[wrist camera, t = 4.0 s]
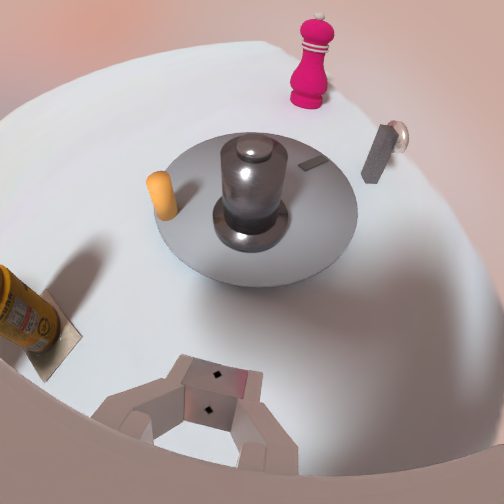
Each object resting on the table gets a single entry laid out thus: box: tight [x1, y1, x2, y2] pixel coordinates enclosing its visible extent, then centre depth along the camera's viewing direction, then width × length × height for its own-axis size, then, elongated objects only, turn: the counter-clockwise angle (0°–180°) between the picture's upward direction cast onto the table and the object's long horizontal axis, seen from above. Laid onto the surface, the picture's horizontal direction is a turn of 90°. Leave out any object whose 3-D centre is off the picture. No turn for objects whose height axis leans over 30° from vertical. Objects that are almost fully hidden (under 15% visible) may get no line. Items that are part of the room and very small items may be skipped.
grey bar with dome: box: [361, 121, 409, 184], centre depth 32 cm, size 4×3×10 cm
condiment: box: [0, 265, 81, 383], centre depth 17 cm, size 7×8×12 cm
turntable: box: [146, 132, 358, 288], centre depth 29 cm, size 24×24×6 cm
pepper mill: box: [290, 13, 334, 109], centre depth 40 cm, size 7×7×20 cm
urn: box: [212, 133, 288, 253], centre depth 24 cm, size 8×8×10 cm
